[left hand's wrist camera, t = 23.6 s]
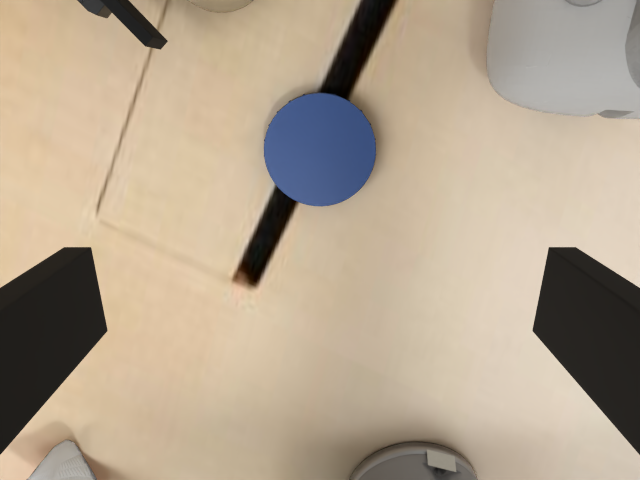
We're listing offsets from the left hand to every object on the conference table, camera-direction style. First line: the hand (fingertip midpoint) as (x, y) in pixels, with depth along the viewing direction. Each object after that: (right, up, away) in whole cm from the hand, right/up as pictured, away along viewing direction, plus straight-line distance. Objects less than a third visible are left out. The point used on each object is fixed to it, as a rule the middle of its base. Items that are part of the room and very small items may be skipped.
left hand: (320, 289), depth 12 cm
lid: (0, +9, +22) cm, 24 cm away
